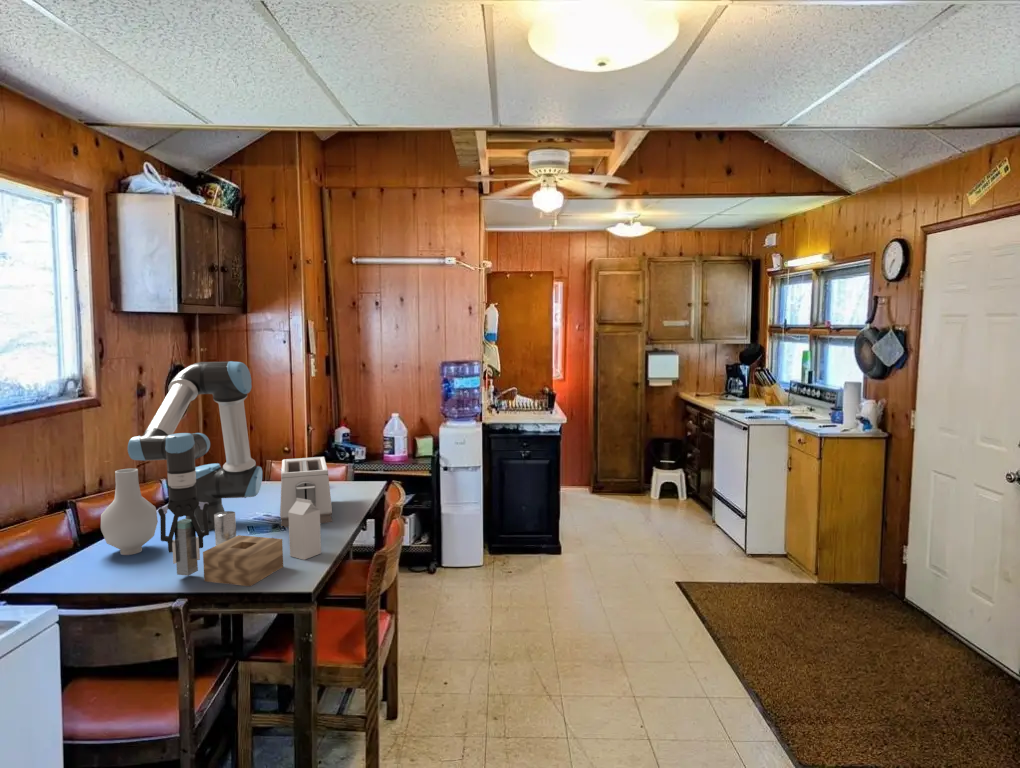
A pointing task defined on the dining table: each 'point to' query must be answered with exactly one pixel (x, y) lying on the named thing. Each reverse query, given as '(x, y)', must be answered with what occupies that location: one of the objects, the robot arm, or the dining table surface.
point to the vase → (128, 515)
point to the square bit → (185, 547)
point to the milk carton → (304, 529)
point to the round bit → (224, 526)
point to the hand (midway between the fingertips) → (186, 560)
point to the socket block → (243, 560)
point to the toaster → (305, 486)
